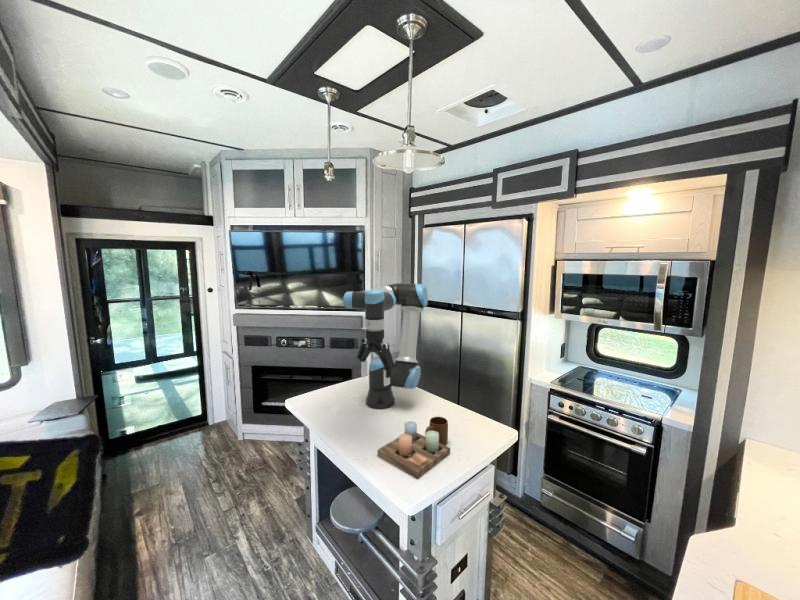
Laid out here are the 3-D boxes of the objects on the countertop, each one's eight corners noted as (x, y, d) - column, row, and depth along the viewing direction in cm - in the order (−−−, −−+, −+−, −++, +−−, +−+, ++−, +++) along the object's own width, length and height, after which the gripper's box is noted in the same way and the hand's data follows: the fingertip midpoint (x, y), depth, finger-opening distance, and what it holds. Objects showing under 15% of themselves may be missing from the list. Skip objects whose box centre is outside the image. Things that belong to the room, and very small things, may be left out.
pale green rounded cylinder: (430, 443, 131) (431, 429, 130) (441, 448, 127) (441, 433, 127) (423, 448, 127) (423, 434, 126) (433, 453, 124) (433, 438, 123)
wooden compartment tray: (410, 435, 141) (410, 428, 141) (450, 453, 128) (450, 446, 128) (377, 455, 127) (377, 448, 126) (417, 479, 113) (417, 470, 113)
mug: (433, 454, 128) (433, 431, 127) (418, 446, 133) (418, 424, 132) (451, 442, 136) (451, 420, 135) (436, 435, 142) (437, 414, 140)
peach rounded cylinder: (404, 447, 128) (404, 432, 127) (414, 452, 125) (414, 437, 124) (395, 452, 124) (396, 437, 124) (405, 457, 121) (406, 442, 120)
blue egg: (409, 433, 138) (409, 420, 137) (419, 437, 135) (419, 424, 134) (401, 438, 134) (402, 424, 134) (411, 442, 131) (411, 428, 130)
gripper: (347, 325, 136) (349, 375, 139) (389, 335, 119) (390, 391, 121) (362, 323, 141) (362, 370, 144) (404, 332, 124) (404, 386, 127)
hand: (375, 380), depth 133 cm, fingers open, 13 cm apart
